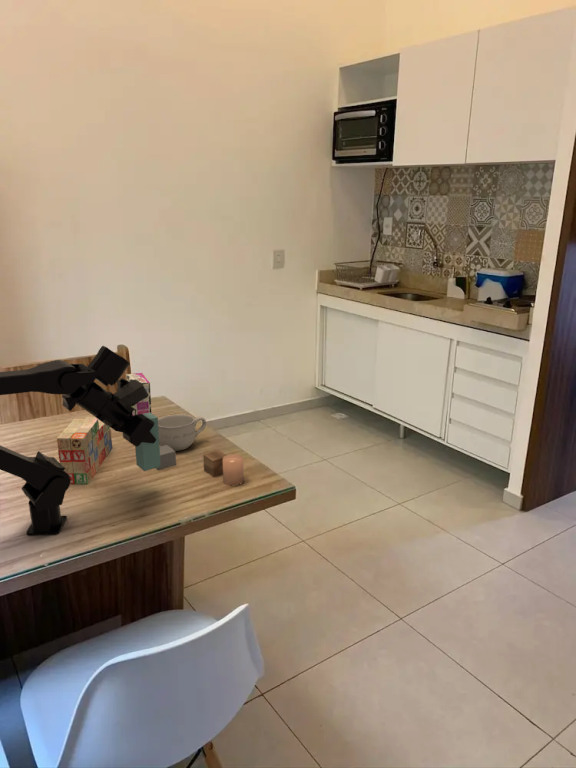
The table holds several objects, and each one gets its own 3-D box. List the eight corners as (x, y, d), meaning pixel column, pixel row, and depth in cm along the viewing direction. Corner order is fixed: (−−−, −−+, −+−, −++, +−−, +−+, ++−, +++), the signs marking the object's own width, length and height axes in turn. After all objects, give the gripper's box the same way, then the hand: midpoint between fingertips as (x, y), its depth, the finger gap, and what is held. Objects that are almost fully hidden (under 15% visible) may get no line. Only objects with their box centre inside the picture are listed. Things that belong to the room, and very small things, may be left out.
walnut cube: (213, 477, 143) (212, 460, 141) (203, 470, 146) (203, 454, 145) (228, 472, 145) (228, 456, 144) (219, 465, 149) (218, 450, 147)
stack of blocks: (89, 447, 159) (85, 405, 155) (112, 447, 159) (109, 405, 155) (61, 484, 138) (56, 437, 134) (88, 485, 138) (83, 437, 135)
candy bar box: (154, 436, 166) (150, 382, 161) (136, 439, 164) (132, 384, 159) (145, 423, 176) (142, 371, 170) (129, 426, 174) (125, 373, 168)
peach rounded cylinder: (243, 485, 139) (243, 463, 137) (222, 486, 138) (222, 463, 136) (243, 476, 143) (243, 454, 142) (223, 476, 143) (222, 454, 141)
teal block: (144, 471, 130) (141, 421, 126) (136, 465, 133) (133, 416, 129) (160, 466, 132) (157, 417, 129) (152, 460, 135) (149, 412, 132)
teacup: (157, 456, 154) (156, 428, 151) (155, 440, 163) (153, 414, 161) (210, 451, 157) (209, 423, 155) (204, 436, 167) (204, 410, 165)
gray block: (158, 470, 146) (157, 456, 145) (149, 463, 150) (148, 449, 149) (176, 465, 149) (175, 451, 148) (167, 458, 153) (166, 444, 151)
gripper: (142, 382, 116) (192, 421, 126) (105, 362, 130) (152, 398, 140) (107, 427, 114) (161, 463, 124) (73, 402, 127) (124, 436, 137)
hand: (150, 438), depth 131 cm, fingers closed on teal block, 4 cm apart
